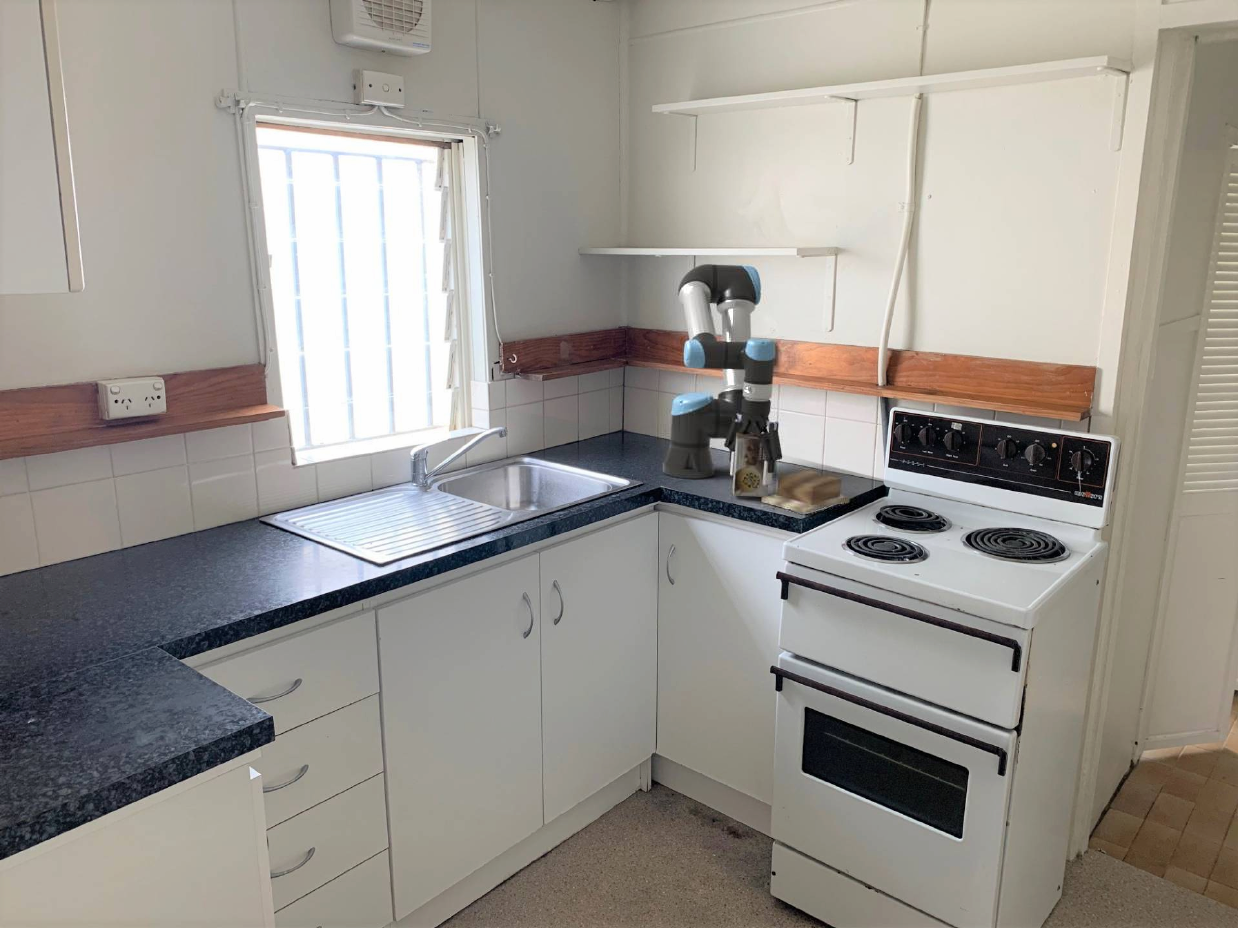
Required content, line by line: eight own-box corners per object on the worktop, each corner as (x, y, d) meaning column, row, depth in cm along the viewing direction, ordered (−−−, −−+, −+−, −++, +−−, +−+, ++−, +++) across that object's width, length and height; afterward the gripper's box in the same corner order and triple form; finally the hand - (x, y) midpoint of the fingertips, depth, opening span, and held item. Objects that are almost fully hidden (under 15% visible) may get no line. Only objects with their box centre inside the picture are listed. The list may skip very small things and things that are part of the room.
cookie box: (765, 490, 251) (770, 433, 246) (767, 497, 244) (772, 439, 240) (731, 488, 251) (736, 431, 247) (732, 495, 245) (737, 437, 241)
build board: (761, 502, 243) (761, 496, 243) (806, 490, 257) (806, 484, 256) (804, 515, 234) (805, 509, 233) (849, 502, 247) (849, 496, 247)
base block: (776, 495, 245) (778, 477, 244) (805, 487, 254) (807, 470, 252) (811, 504, 237) (812, 486, 236) (839, 496, 246) (841, 478, 245)
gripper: (714, 392, 247) (708, 471, 252) (783, 407, 230) (775, 491, 236) (732, 390, 252) (726, 467, 257) (801, 404, 235) (793, 486, 241)
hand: (750, 479), depth 247 cm, fingers closed on cookie box, 10 cm apart
